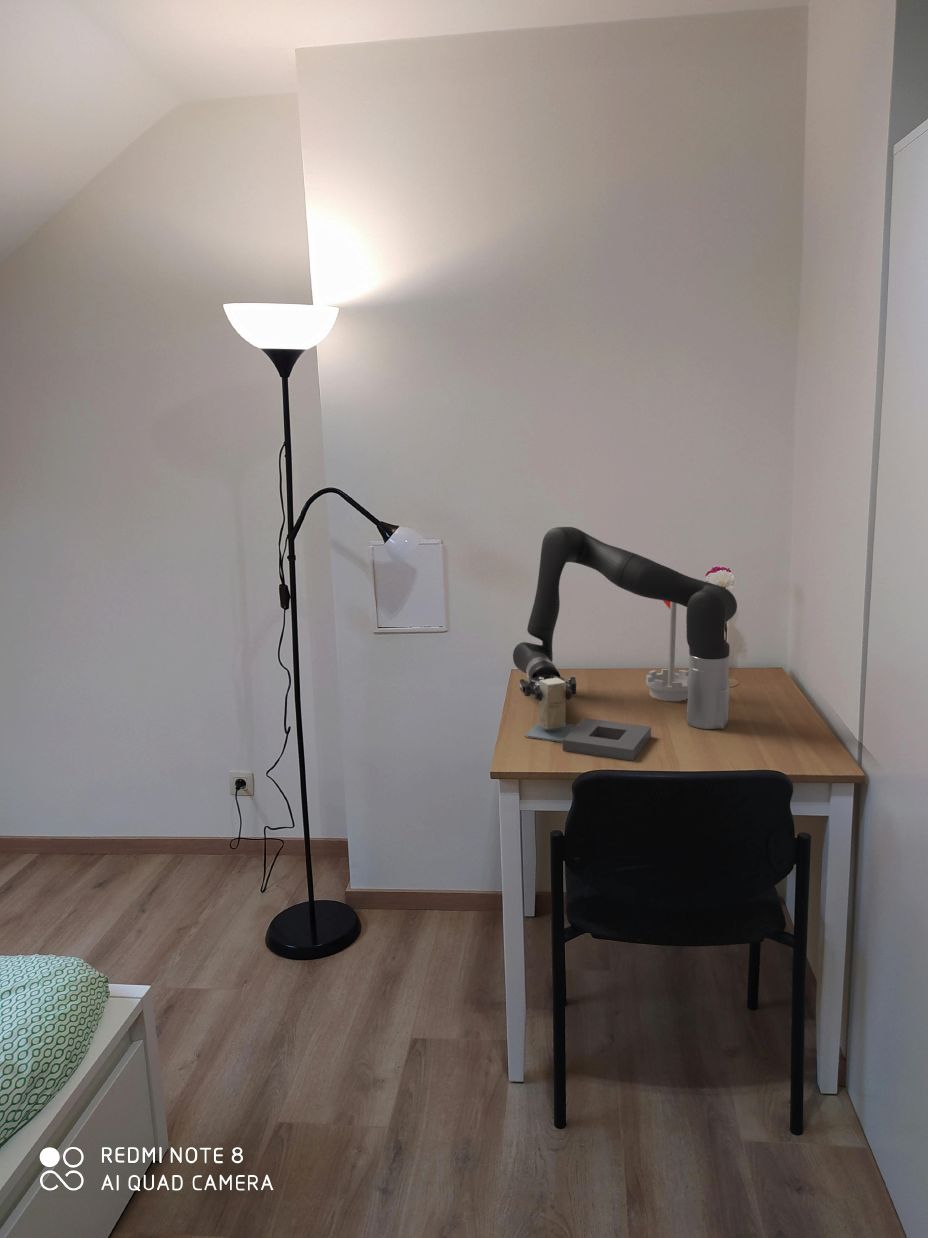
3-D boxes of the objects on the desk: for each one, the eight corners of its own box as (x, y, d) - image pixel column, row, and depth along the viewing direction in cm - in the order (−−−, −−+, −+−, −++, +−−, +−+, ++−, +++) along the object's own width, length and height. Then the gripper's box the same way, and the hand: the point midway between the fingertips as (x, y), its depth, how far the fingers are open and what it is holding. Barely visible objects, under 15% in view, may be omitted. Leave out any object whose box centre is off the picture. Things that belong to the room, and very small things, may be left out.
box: (547, 730, 213) (546, 685, 210) (538, 724, 217) (538, 679, 214) (566, 726, 215) (566, 681, 212) (557, 720, 219) (557, 676, 216)
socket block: (650, 736, 212) (651, 726, 211) (632, 760, 198) (632, 749, 197) (585, 727, 219) (585, 718, 218) (562, 750, 205) (562, 740, 204)
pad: (580, 728, 219) (580, 726, 219) (565, 743, 209) (565, 741, 209) (541, 722, 223) (541, 720, 223) (524, 737, 213) (524, 735, 213)
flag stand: (706, 698, 239) (710, 585, 232) (664, 705, 234) (667, 590, 227) (676, 685, 251) (680, 577, 244) (636, 691, 246) (638, 582, 239)
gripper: (514, 661, 226) (523, 682, 210) (571, 659, 227) (585, 679, 211) (514, 690, 228) (523, 713, 212) (571, 688, 229) (584, 710, 213)
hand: (554, 696), depth 212 cm, fingers closed on box, 6 cm apart
